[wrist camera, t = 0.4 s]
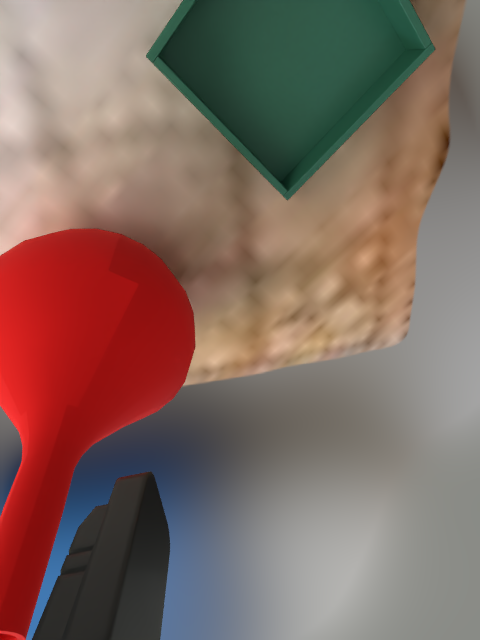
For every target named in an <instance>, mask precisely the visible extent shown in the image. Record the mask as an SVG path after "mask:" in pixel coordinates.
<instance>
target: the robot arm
mask: <svg viewBox="0 0 480 640" xmlns="http://www.w3.org/2000/svg"><path fill="white" fill-rule="evenodd" d="M169 555H170V537H169V529H168V524H167V520H166V516H165V513H164V509H163V506H162V502H161V498H160V495H159V491H158V488H157V484H156V481H155V477H154V475H153V474H152V472H146V473H140V474H135V475H130V476H126V477H121V478H118V479H117V480H116V483H115V485H114V488H113V491H112V494H111V497H110V500H109V503H108V504H106V505H102V506H96V507H95V508H94V509H93V510H92V512H91V513H90V514H89V515H88V517H87V518H86V519H85V520H84V522H83V523H82V524H81V525H80V526H79V527H78V530H77V532H76V535H75V537H74V540H73V542H72V544H71V547H70V549H69V555H67V556H66V559H65V561H64V564H63V566H62V569H61V575H60V576H58V578H57V580H56V583H55V585H54V588H53V590H52V592H51V595H50V597H49V600H48V602H47V605H46V607H45V609H44V612H43V614H42V617H41V619H40V621H39V624H38V626H37V629H36V631H35V633H34V636H33V638H32V640H160V636H161V627H162V618H163V608H164V599H165V591H166V582H167V573H168V564H169Z"/></svg>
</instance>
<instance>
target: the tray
mask: <svg viewBox="0 0 480 640" xmlns="http://www.w3.org/2000/svg"><path fill="white" fill-rule="evenodd" d="M434 50H435V47H434V45H433V44H432V43H431V40H430V38H429V36H428V34H427V32H426V30H425V29H424V27H423V25H422V23H421V21H420V19H419V17H418V15H417V14H416V12H415V10H414V8H413V6H412V4H411V2H410V0H183V1H182V3H181V4H180V6H179V7H178V9H177V10H176V12H175V13H174V15H173V16H172V18H171V19H170V21H169V22H168V24H167V25H166V27H165V28H164V30H163V31H162V33H161V34H160V36H159V37H158V39H157V40H156V42H155V43H154V44H153V46H152V47H151V49H150V50H149V52H148V53H147V55H146V57H147V58H148V59H149V60H150V61H151V62H152V63H153V64H154V65H155V66H156V67H157V68H158V69H159V70H160V71H161V72H162V73H163V74H164V75H165V76H166V77H167V78H168V79H169V80H170V81H171V83H172V84H173V85H174V86H175V87H176V88H177V89H178V90H179V91H180V92H181V93H182V94H183V95H184V96H185V97H186V98H187V99H188V100H189V101H190V102H191V103H192V104H193V105H194V106H195V107H196V108H197V109H198V110H199V111H200V112H201V113H202V114H203V115H204V116H205V117H206V118H207V119H208V120H209V121H210V122H211V123H212V124H213V125H214V126H215V127H216V128H217V129H218V130H219V131H220V132H221V133H222V134H223V135H224V136H225V137H226V138H227V140H228V141H229V142H230V143H231V144H232V145H233V146H234V147H235V148H236V149H237V150H238V151H239V152H240V153H241V154H242V155H243V156H244V157H245V158H246V159H247V160H248V161H249V162H250V163H251V164H252V165H253V166H254V167H255V168H256V169H257V170H258V171H259V172H260V173H261V174H262V175H263V176H264V177H265V178H266V179H267V180H268V181H269V182H270V183H271V184H272V185H273V186H274V187H275V188H276V189H277V190H278V191H279V192H280V193H281V194H282V195H283V196H284V198H285V199H286V200H289V199H290V198H291V196H292V195H293V194H294V193H295V192H296V191H297V190H298V189H299V188H300V187H301V186H302V185H303V184H304V183H305V182H306V181H307V180H308V179H309V178H310V177H311V176H312V175H313V174H314V173H315V172H316V171H317V170H318V169H319V168H320V167H321V166H322V165H323V164H324V163H325V162H326V161H327V160H328V159H329V158H330V157H331V156H332V155H333V154H334V153H335V152H336V150H337V149H338V148H339V147H340V146H341V145H342V144H343V143H344V142H345V141H346V140H347V139H348V138H349V137H350V136H351V135H352V134H353V133H354V132H355V131H356V130H357V129H358V128H359V127H360V126H361V125H362V124H363V123H364V122H365V121H366V120H367V119H368V118H369V117H370V116H371V115H372V114H373V113H374V112H375V111H376V110H377V109H378V108H379V107H380V106H381V105H382V103H383V102H384V101H385V100H386V99H387V98H388V97H389V96H390V95H391V94H392V93H393V92H394V91H395V90H396V89H397V88H398V87H399V86H400V85H401V84H402V83H403V82H404V81H405V80H406V79H407V78H408V77H409V76H410V75H411V74H412V73H413V72H414V71H415V70H416V69H417V68H418V67H419V66H420V65H421V64H422V63H423V62H424V61H425V60H426V59H427V57H428V56H429V55H430V54H431V53H432V52H433V51H434Z"/></svg>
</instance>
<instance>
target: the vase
mask: <svg viewBox="0 0 480 640" xmlns="http://www.w3.org/2000/svg"><path fill="white" fill-rule="evenodd" d="M194 350H195V326H194V314H193V310H192V307H191V305H190V302H189V299H188V297H187V294H186V291H185V290H184V289H183V287H182V286H181V285H180V283H179V282H178V281H177V279H176V278H175V276H174V275H173V274H172V273H171V271H170V270H169V269H168V267H167V266H166V265H165V263H164V262H163V261H162V259H161V258H159V257H158V256H157V255H156V254H154V253H153V252H152V251H151V250H149V249H148V248H147V247H146V246H144V245H143V244H141V243H139V242H137V241H135V240H132V239H130V238H128V237H126V236H124V235H122V234H118V233H114V232H109V231H105V230H100V229H69V230H64V231H59V232H55V233H51V234H47V235H43V236H40V237H36V238H33V239H29V240H25V241H23V242H21V243H20V244H18V245H17V246H15V247H13V248H12V249H10V250H9V251H7V252H6V253H4V254H2V255H1V256H0V406H1V407H2V408H3V410H4V411H5V413H6V414H7V416H8V417H9V418H10V420H11V421H12V422H13V424H14V425H15V427H16V428H17V430H18V431H19V433H20V437H21V441H22V445H23V450H22V462H21V465H20V468H19V470H18V473H17V475H16V478H15V480H14V483H13V485H12V488H11V491H10V493H9V496H8V498H7V501H6V503H5V506H4V509H3V511H2V514H1V517H0V640H26V636H27V632H28V629H29V626H30V623H31V619H32V616H33V612H34V609H35V605H36V602H37V599H38V595H39V592H40V589H41V585H42V582H43V578H44V575H45V571H46V568H47V565H48V561H49V558H50V554H51V551H52V548H53V544H54V541H55V537H56V534H57V530H58V527H59V524H60V520H61V517H62V513H63V510H64V506H65V502H66V498H67V494H68V491H69V487H70V483H71V479H72V475H73V471H74V468H75V466H76V464H77V463H78V461H79V460H80V458H81V456H82V455H83V454H84V453H85V452H86V451H87V450H88V449H89V448H90V447H91V446H92V445H93V444H94V443H96V442H98V441H100V440H101V439H103V438H105V437H106V436H108V435H110V434H112V433H114V432H115V431H117V430H119V429H120V428H122V427H124V426H126V425H129V424H131V423H133V422H136V421H138V420H140V419H142V418H144V417H146V416H148V415H150V414H152V413H155V412H157V411H158V410H159V409H161V408H162V407H163V406H164V405H166V404H167V403H168V402H169V401H170V400H172V399H173V398H174V397H175V395H176V394H177V392H178V391H179V390H180V388H181V387H182V385H183V384H184V382H185V379H186V376H187V373H188V370H189V366H190V363H191V360H192V356H193V353H194Z"/></svg>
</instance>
